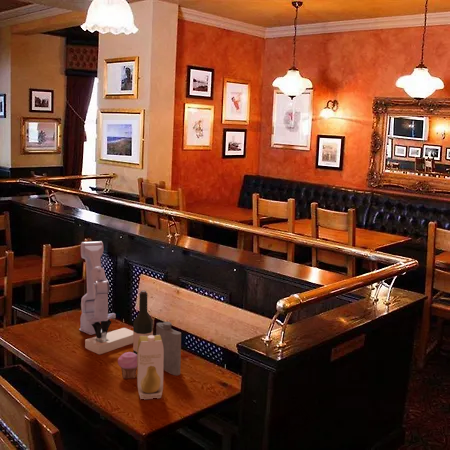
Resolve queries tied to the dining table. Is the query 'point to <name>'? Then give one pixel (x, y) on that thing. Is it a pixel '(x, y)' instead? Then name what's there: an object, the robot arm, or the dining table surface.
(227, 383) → the dining table surface
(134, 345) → the wine bottle
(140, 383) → the juice carton
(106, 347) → the pale beige flat-sided block
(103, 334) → the pinkish white rectangular block
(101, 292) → the robot arm
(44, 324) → the dining table surface
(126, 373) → the cupcake
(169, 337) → the hip flask
